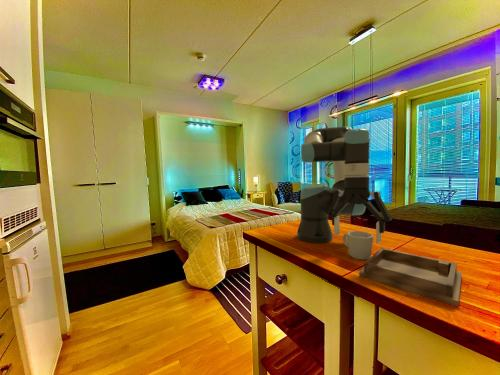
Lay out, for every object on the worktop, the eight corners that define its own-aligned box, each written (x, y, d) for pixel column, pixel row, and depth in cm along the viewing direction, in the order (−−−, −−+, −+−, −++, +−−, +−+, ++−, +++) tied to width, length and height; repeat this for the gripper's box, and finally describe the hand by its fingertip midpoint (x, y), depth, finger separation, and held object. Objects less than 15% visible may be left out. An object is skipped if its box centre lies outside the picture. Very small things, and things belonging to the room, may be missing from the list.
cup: (335, 252, 78) (335, 230, 77) (351, 248, 81) (351, 227, 80) (361, 263, 68) (361, 239, 67) (378, 259, 71) (378, 235, 71)
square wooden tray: (359, 276, 60) (359, 263, 60) (378, 257, 73) (378, 246, 72) (458, 306, 46) (458, 290, 46) (461, 276, 58) (462, 263, 58)
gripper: (317, 177, 79) (317, 234, 80) (397, 176, 61) (396, 249, 62) (326, 176, 84) (327, 230, 85) (403, 175, 66) (402, 243, 67)
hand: (356, 238), depth 74 cm, fingers open, 13 cm apart
